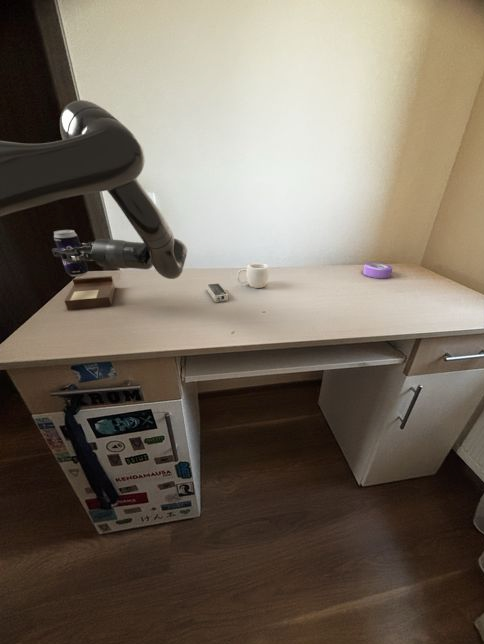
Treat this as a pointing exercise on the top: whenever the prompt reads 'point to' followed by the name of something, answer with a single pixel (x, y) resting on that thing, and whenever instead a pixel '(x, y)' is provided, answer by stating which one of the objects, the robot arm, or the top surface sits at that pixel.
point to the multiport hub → (217, 292)
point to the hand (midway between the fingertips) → (62, 249)
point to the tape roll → (377, 270)
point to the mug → (256, 275)
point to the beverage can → (68, 241)
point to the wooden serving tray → (90, 293)
